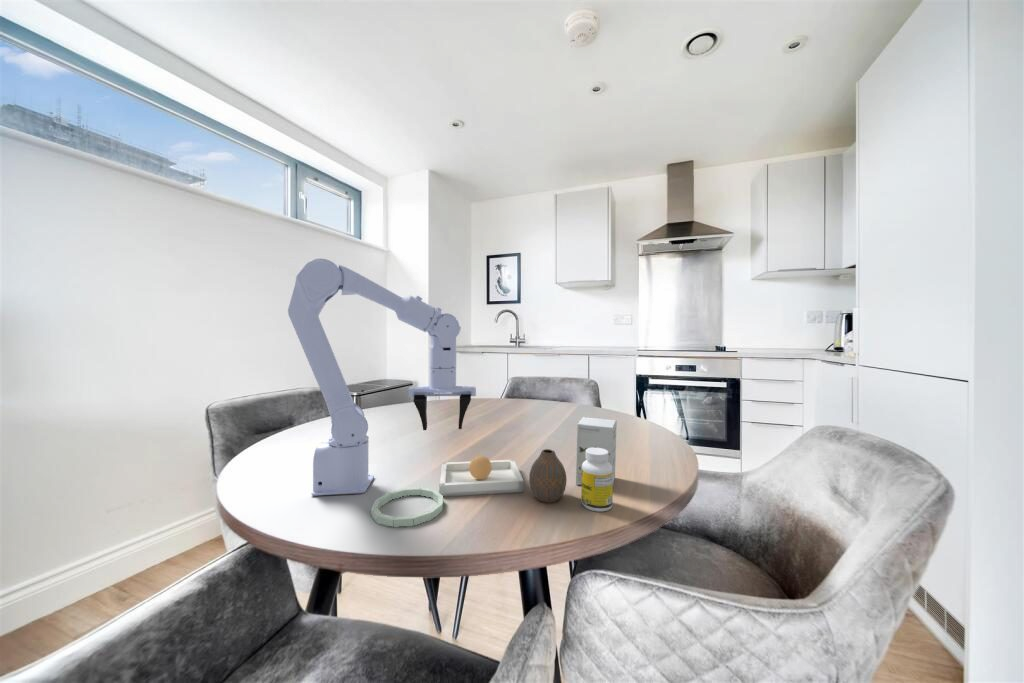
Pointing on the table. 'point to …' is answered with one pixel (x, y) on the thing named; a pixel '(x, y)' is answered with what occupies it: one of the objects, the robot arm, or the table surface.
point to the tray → (463, 483)
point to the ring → (407, 520)
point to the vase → (547, 477)
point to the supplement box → (595, 441)
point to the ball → (480, 467)
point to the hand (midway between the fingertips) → (442, 428)
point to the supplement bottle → (597, 480)
